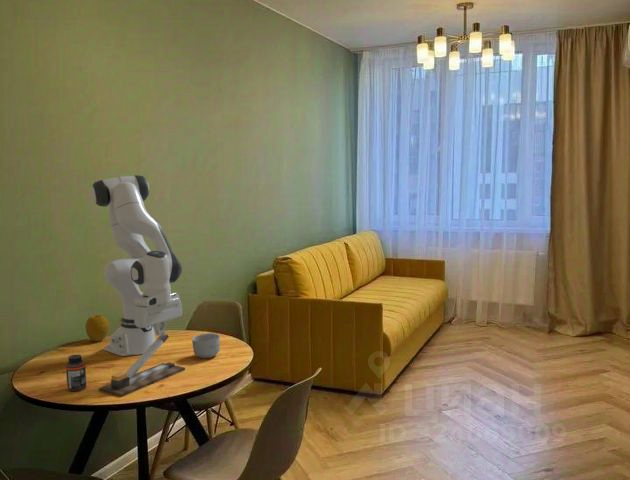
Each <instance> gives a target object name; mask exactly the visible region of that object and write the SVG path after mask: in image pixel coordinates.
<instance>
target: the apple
mask: <svg viewBox="0 0 630 480" xmlns="http://www.w3.org/2000/svg"><path fill="white" fill-rule="evenodd" d="M109 331H110V322H109V321H108V319H107V317H105V316H104V315H101V314H93V315H91V316H89V318H88V319H87V320H86V322H85V333H86V335H87V337H88V338H89V339H90V341H92V342H94V343H95V342H101V341H103V340H104V339H105V338H106V336H107V334H108V333H109Z"/></svg>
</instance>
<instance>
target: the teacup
mask: <svg viewBox="0 0 630 480" xmlns="http://www.w3.org/2000/svg"><path fill="white" fill-rule="evenodd" d="M220 340H221V339H220V334H217V333H212V332H207V333H202V334H198V335H195V336H193V337H192V338H191V343H192V349H193V353H194V354H195V356H197V357H198V358H199V359H211V358H213V357H215V356H216V355H217V354H218V353H219V352H220V349H221V341H220Z"/></svg>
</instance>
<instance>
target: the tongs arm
mask: <svg viewBox="0 0 630 480" xmlns="http://www.w3.org/2000/svg"><path fill="white" fill-rule="evenodd" d="M168 339H169V335H168V334H166V333H164V334H161V335H158V337H157V338H156V341H155V342H154V343H153V344H152V345H151V346H150V347H149V348H148V349H147V350H146V351H145V352H144V353H143V354H141V355H140V356H139V357H138V359H137V360H135V362H134V363H133V364H132V365H131V366H130V367H129V368H128V369H127V370H126V372H125V373H127V377H129V379H131V378H132V377H133V376H134V374H136V373H138V371H140V369H141V368H142V367H143V366H144V365H145V364H146V363H147V361H149V359H151V357H152V356H153V355H155V353H156V352H157V351H158V350H159V348H161V346H162V345H164V343H165V342H166V341H167V340H168Z"/></svg>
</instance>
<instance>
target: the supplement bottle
mask: <svg viewBox="0 0 630 480" xmlns="http://www.w3.org/2000/svg"><path fill="white" fill-rule="evenodd" d="M82 359H83V357H82V354H72V355H69V356H68V362H67V363H66V364H65V372H66V384H67V385H66V386H67V390H68V391H70V392H80V391H82V389H83V390H85V389H86V388H87V373H86V372H87V371H86V363H85V361H84V360H82ZM79 390H80V391H79Z"/></svg>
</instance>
